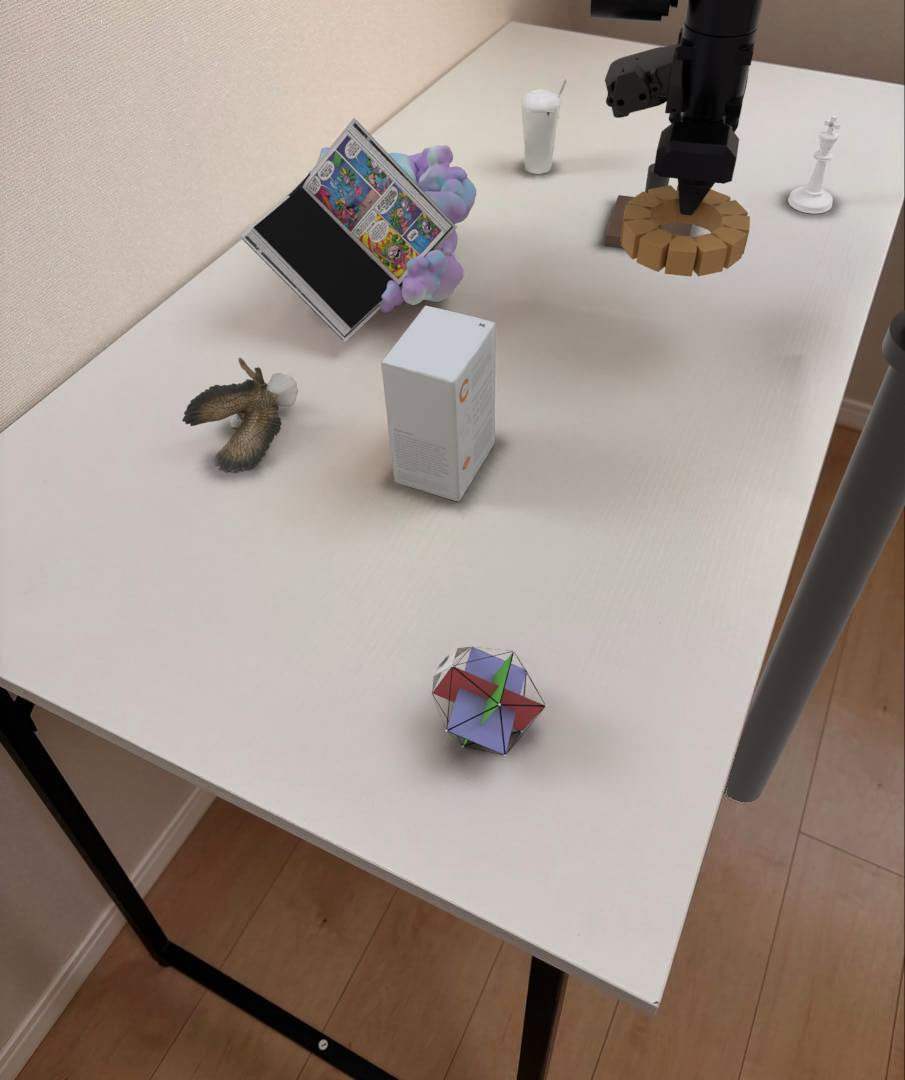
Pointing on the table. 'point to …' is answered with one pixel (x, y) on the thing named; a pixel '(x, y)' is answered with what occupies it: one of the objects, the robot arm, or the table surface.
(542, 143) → the milkshake
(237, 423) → the eagle figurine
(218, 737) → the table surface
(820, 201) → the chess piece
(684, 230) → the dark wooden peg stand
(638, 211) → the segmented wooden ring
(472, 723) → the geometric puzzle
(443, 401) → the small box
